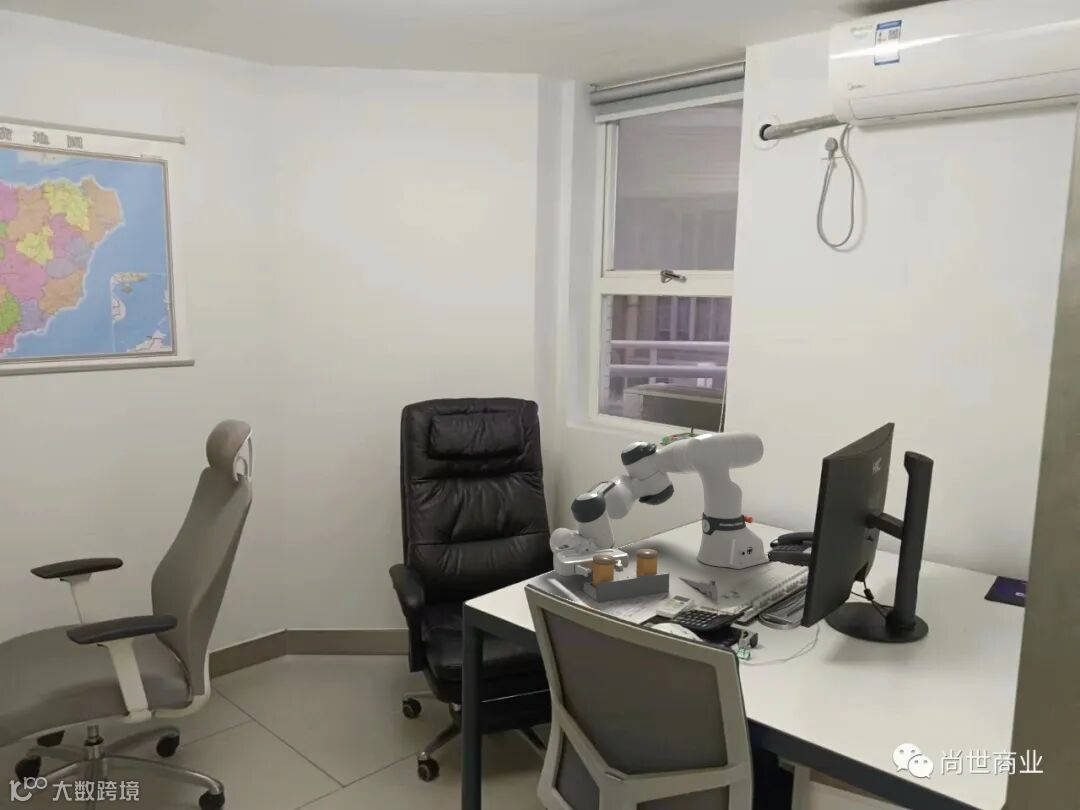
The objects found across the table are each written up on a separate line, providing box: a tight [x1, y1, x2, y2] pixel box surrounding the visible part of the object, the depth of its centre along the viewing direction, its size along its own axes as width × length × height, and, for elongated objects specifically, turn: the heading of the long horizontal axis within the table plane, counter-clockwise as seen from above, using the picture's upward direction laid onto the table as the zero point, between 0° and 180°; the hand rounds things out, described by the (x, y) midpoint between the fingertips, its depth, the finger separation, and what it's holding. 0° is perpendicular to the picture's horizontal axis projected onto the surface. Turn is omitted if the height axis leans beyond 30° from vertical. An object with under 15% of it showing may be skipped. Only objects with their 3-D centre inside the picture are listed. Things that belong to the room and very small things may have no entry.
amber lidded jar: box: [592, 555, 615, 588], centre depth 211 cm, size 6×6×10 cm
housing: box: [581, 571, 670, 604], centre depth 214 cm, size 21×10×6 cm, turn 112°
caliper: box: [677, 576, 718, 602], centre depth 217 cm, size 20×1×6 cm, turn 20°
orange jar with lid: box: [635, 548, 659, 577], centre depth 216 cm, size 6×6×10 cm
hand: (604, 571), depth 210 cm, fingers open, 8 cm apart
